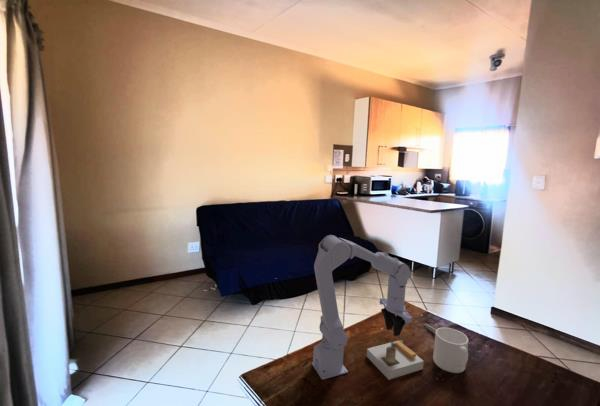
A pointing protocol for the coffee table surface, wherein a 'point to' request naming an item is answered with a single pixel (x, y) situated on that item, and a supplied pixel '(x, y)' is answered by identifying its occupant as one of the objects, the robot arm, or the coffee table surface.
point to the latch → (405, 349)
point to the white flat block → (401, 361)
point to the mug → (450, 350)
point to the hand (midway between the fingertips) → (393, 332)
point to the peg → (390, 356)
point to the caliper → (430, 328)
